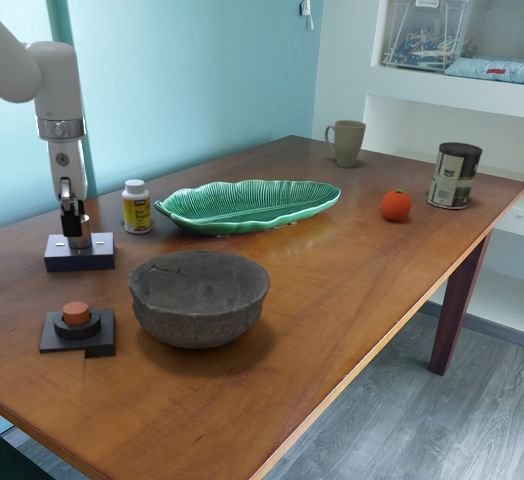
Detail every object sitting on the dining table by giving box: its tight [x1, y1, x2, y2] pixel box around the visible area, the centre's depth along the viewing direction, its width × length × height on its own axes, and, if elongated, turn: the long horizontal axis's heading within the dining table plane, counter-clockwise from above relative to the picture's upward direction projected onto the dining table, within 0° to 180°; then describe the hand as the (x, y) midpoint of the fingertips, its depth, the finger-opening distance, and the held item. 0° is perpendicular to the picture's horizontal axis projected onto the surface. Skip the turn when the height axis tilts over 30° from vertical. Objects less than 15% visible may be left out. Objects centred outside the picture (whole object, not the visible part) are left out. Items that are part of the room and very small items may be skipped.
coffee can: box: [426, 141, 484, 208], centre depth 135 cm, size 10×10×14 cm
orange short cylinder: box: [61, 301, 90, 325], centre depth 78 cm, size 4×4×2 cm
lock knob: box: [67, 214, 92, 249], centre depth 99 cm, size 4×4×5 cm
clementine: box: [380, 188, 412, 221], centre depth 126 cm, size 8×7×7 cm
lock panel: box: [43, 232, 116, 273], centre depth 101 cm, size 12×10×3 cm
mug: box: [324, 119, 367, 169], centre depth 159 cm, size 11×10×12 cm
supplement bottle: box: [121, 179, 152, 235], centre depth 112 cm, size 6×6×10 cm
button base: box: [38, 306, 116, 359], centre depth 79 cm, size 10×10×4 cm
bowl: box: [127, 249, 272, 349], centre depth 81 cm, size 21×21×10 cm
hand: (74, 225), depth 98 cm, fingers open, 9 cm apart
